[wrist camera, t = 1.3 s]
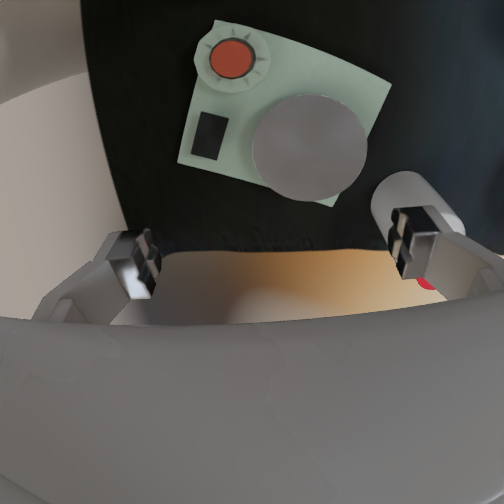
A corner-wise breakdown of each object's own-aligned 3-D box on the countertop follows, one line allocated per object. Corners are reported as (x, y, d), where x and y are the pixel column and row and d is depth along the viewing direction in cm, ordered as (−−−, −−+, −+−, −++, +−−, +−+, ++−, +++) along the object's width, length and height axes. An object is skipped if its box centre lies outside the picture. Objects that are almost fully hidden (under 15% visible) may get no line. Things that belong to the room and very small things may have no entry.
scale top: (187, 168, 26) (186, 170, 25) (215, 60, 19) (214, 60, 19) (337, 212, 28) (338, 214, 28) (383, 120, 22) (385, 122, 22)
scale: (176, 156, 28) (168, 168, 26) (212, 19, 19) (206, 17, 17) (329, 200, 31) (335, 216, 28) (386, 82, 22) (399, 87, 20)
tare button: (209, 70, 20) (206, 72, 19) (219, 37, 18) (216, 36, 17) (245, 79, 21) (244, 81, 20) (256, 46, 19) (256, 46, 18)
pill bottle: (371, 234, 33) (401, 306, 25) (368, 176, 28) (409, 241, 20) (428, 223, 32) (468, 288, 23) (431, 166, 27) (486, 224, 19)
